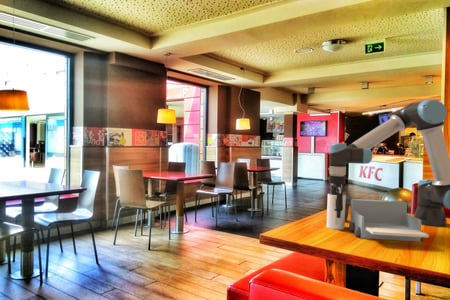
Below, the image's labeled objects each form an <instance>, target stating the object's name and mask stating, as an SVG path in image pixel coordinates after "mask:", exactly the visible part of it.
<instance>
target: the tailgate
mask: <svg viewBox="0 0 450 300" xmlns="http://www.w3.org/2000/svg"><path fill="white" fill-rule="evenodd" d="M366 230H367V231H369V232H370V233H372V234H376V235H393V236H411V237H424V238H429V237H430V235H429V234H428V233H426V232H424V231H423V232H421V231H422V230H421V231H419V230H408V229H390V228H372V227H366Z"/></svg>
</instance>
